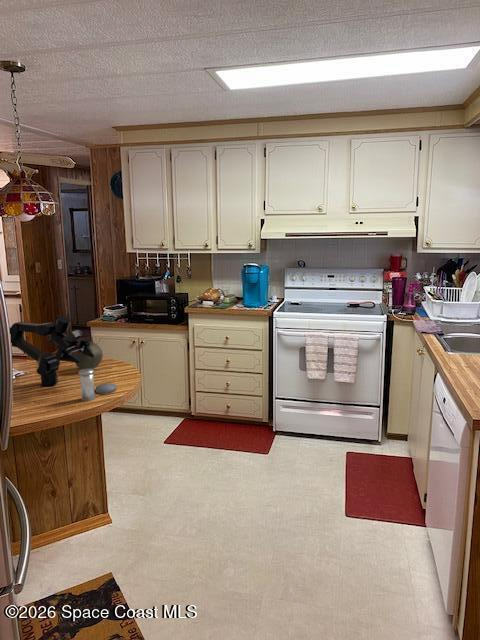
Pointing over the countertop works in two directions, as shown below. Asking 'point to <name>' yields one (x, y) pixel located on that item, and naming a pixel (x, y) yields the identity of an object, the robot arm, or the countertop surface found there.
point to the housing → (87, 384)
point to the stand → (105, 388)
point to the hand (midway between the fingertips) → (86, 359)
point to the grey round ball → (88, 361)
